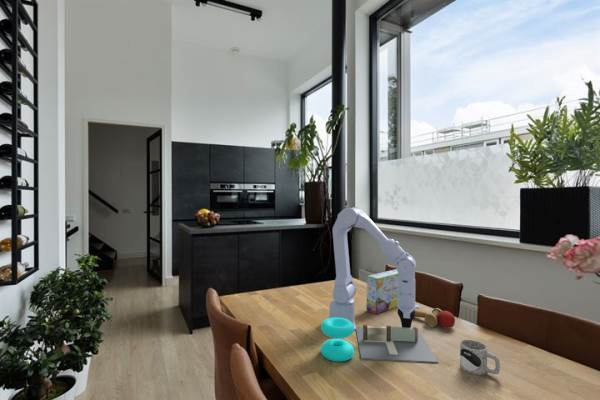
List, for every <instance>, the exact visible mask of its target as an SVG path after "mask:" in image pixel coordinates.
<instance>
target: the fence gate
mask: <svg viewBox="0 0 600 400" xmlns="http://www.w3.org/2000/svg"><path fill="white" fill-rule="evenodd" d="M391 329H392V341H411V342H418V330H419V327H417V326H413V327H411V328H403V327H402V326H401V327H399V326H397V327H396V326H391Z"/></svg>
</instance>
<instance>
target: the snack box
mask: <svg viewBox="0 0 600 400" xmlns="http://www.w3.org/2000/svg"><path fill="white" fill-rule="evenodd" d="M366 277H367V278H366V310H365V311H366V312H369V313H371V314H374V315H378V314H380V313H383V312H386V311H390V310H392V309H395V308H398V307H397V303H398V271H397V269H396V268H395V269H390V270H388V271H387V270H386V271H383V272H379V273H374V274H369V275H367V276H366Z"/></svg>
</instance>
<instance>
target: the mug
mask: <svg viewBox="0 0 600 400" xmlns="http://www.w3.org/2000/svg"><path fill="white" fill-rule="evenodd" d="M459 343H460V344H459V345H460V347H459V348H460V349H459V352H460V353H459V357H460V358H459V361H460V362H459V367H460V369H461V370H462V371H464V372H466V373H469V374H471V375H476V376H483V375H486V374H487V373H488V374H493V375H499V374H500V367H501V364H500V358H499V357H497V356H496V355H495V354H493V353H492V352H490V351H488V345H486V344H485V343H483V342H481V341H478V340H476V339H463V340H461V341H460V342H459ZM488 358H489V359H492V360H494V362H495V368H491V367H490V366H488Z"/></svg>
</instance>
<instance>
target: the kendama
mask: <svg viewBox="0 0 600 400" xmlns="http://www.w3.org/2000/svg"><path fill="white" fill-rule="evenodd" d="M414 318H422V319H423V318H424V322H425V323H426V324H427V325H428V326H429V327H432V326H433V327H436V326H437V325H440V327H442V328H445V329H450V328H453V327H455V325H456V319H455V316H454V314H453V313H451V312H450V311H448V310H442V309H440V308H438V307H436V308H435V307H434V308H433V309H432V311H431V312H425V311H420V310H418V309H415V317H414Z"/></svg>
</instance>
